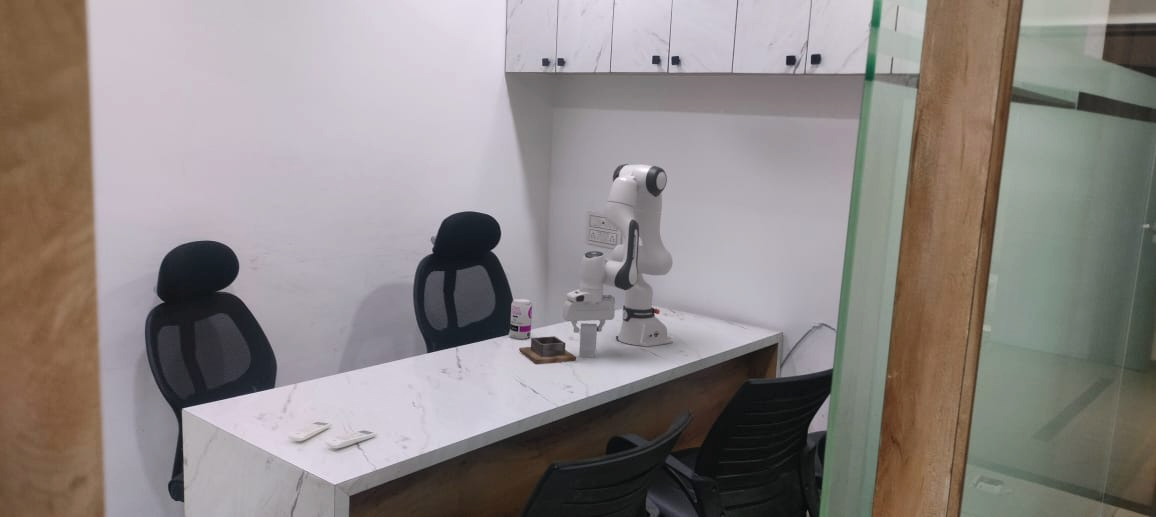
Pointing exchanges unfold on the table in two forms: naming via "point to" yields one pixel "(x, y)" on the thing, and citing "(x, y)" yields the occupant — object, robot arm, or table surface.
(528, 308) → the supplement can
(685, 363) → the table surface
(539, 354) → the bottle stand
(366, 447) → the table surface
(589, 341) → the skincare box
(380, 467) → the table surface
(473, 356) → the table surface
